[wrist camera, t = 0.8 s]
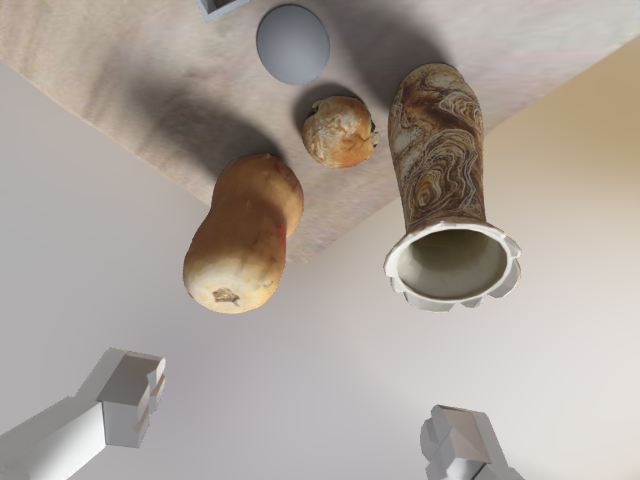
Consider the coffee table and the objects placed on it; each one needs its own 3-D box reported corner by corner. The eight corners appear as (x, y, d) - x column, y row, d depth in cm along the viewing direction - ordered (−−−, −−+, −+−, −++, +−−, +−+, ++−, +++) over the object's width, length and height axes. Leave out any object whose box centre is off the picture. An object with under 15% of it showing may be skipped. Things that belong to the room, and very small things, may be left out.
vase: (487, 102, 47) (567, 280, 26) (417, 151, 53) (435, 329, 32) (440, 38, 43) (488, 186, 22) (370, 99, 49) (353, 263, 28)
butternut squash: (309, 213, 64) (277, 340, 46) (234, 205, 65) (174, 325, 47) (310, 140, 55) (270, 264, 37) (222, 132, 56) (140, 248, 38)
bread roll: (342, 75, 51) (313, 81, 45) (398, 124, 50) (375, 137, 44) (310, 131, 58) (280, 143, 52) (358, 175, 57) (333, 193, 51)
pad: (312, -9, 42) (311, -8, 42) (339, 70, 47) (339, 71, 47) (244, 23, 45) (243, 24, 45) (277, 93, 50) (277, 94, 50)
